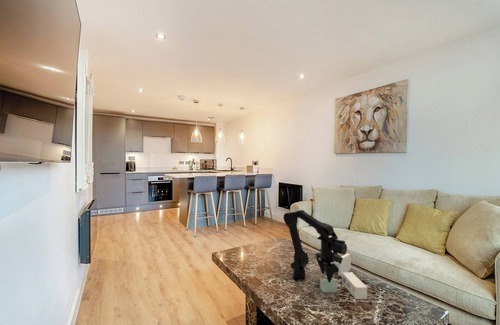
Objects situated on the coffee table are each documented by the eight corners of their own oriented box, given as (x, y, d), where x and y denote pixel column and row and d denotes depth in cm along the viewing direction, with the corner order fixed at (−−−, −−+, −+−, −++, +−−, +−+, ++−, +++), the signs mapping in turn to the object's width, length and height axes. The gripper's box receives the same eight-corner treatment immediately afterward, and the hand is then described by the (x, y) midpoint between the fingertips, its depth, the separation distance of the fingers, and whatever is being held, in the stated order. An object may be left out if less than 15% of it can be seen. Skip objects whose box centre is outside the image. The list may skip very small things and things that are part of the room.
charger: (322, 292, 122) (323, 283, 122) (319, 287, 127) (320, 278, 127) (341, 292, 123) (342, 282, 123) (338, 287, 127) (338, 278, 127)
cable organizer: (339, 279, 137) (340, 259, 137) (323, 272, 145) (324, 254, 145) (350, 271, 148) (351, 253, 147) (335, 265, 155) (335, 248, 155)
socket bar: (355, 299, 117) (355, 287, 117) (341, 282, 133) (341, 272, 133) (367, 299, 118) (367, 287, 118) (351, 282, 134) (352, 272, 134)
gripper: (349, 255, 116) (348, 286, 116) (333, 242, 134) (333, 269, 134) (327, 256, 115) (326, 287, 115) (315, 242, 134) (314, 269, 134)
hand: (326, 277), depth 125 cm, fingers open, 9 cm apart
